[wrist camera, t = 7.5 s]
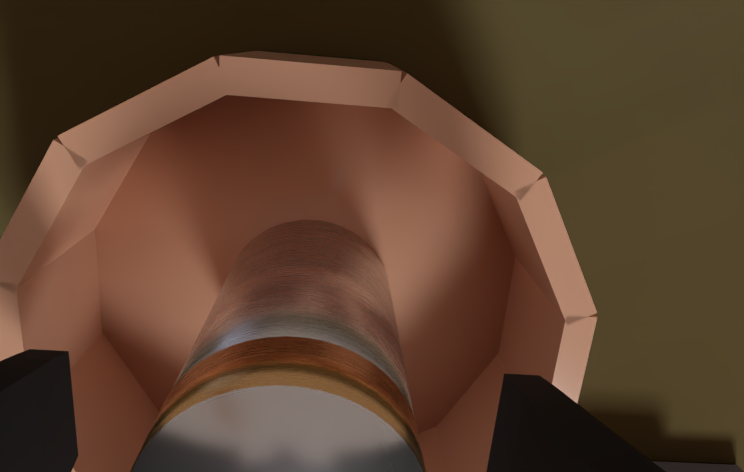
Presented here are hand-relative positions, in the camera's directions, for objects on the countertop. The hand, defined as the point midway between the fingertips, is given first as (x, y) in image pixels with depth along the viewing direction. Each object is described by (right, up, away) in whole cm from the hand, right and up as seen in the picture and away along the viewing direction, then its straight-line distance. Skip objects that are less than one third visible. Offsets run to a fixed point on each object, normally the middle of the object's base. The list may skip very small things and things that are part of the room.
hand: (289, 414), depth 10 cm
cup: (0, +2, +5) cm, 5 cm away
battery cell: (0, +1, +5) cm, 5 cm away
